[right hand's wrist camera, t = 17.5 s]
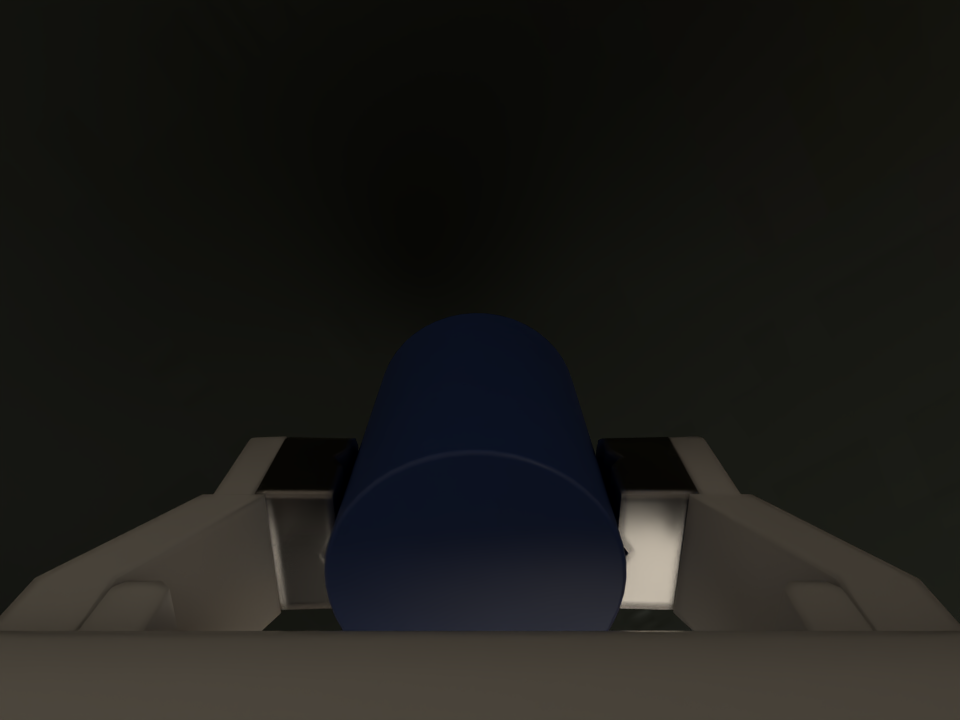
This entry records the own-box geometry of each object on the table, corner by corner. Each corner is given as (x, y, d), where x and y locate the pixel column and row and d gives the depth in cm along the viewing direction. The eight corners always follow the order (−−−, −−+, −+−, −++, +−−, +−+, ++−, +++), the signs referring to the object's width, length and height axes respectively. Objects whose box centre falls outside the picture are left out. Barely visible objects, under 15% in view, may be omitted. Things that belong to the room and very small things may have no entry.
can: (601, 447, 13) (667, 643, 8) (432, 512, 13) (406, 728, 9) (530, 280, 12) (562, 403, 7) (345, 358, 12) (266, 520, 8)
